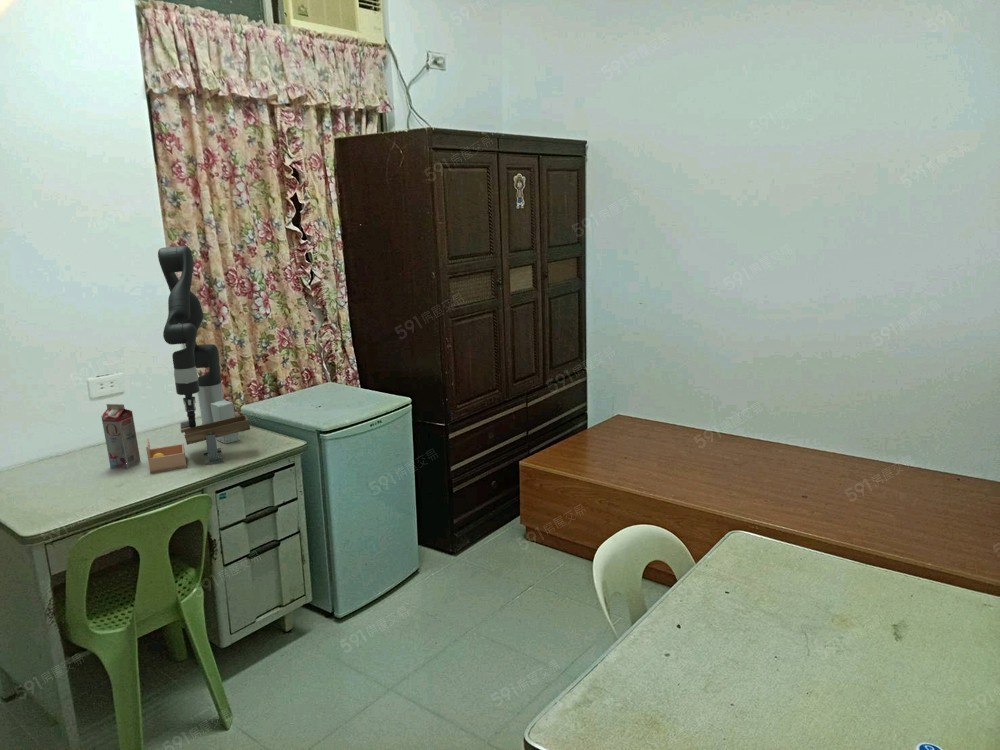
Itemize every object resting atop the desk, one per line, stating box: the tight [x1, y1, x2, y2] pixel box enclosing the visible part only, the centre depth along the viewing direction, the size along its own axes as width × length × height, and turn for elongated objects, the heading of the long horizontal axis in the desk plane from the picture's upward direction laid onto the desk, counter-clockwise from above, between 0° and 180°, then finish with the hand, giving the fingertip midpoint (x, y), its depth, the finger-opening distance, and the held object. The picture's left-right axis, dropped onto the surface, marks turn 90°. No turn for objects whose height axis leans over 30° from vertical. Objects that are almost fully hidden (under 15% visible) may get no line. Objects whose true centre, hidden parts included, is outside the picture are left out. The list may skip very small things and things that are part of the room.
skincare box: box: [211, 399, 240, 444], centre depth 264 cm, size 8×6×15 cm
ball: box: [153, 453, 164, 458], centre depth 240 cm, size 4×4×4 cm
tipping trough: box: [179, 414, 251, 446], centre depth 250 cm, size 18×22×4 cm
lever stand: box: [202, 433, 225, 466], centre depth 246 cm, size 14×6×10 cm, turn 25°
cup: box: [145, 438, 187, 474], centre depth 241 cm, size 11×11×9 cm
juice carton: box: [101, 403, 142, 470], centre depth 241 cm, size 7×7×22 cm
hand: (192, 423), depth 250 cm, fingers open, 8 cm apart
